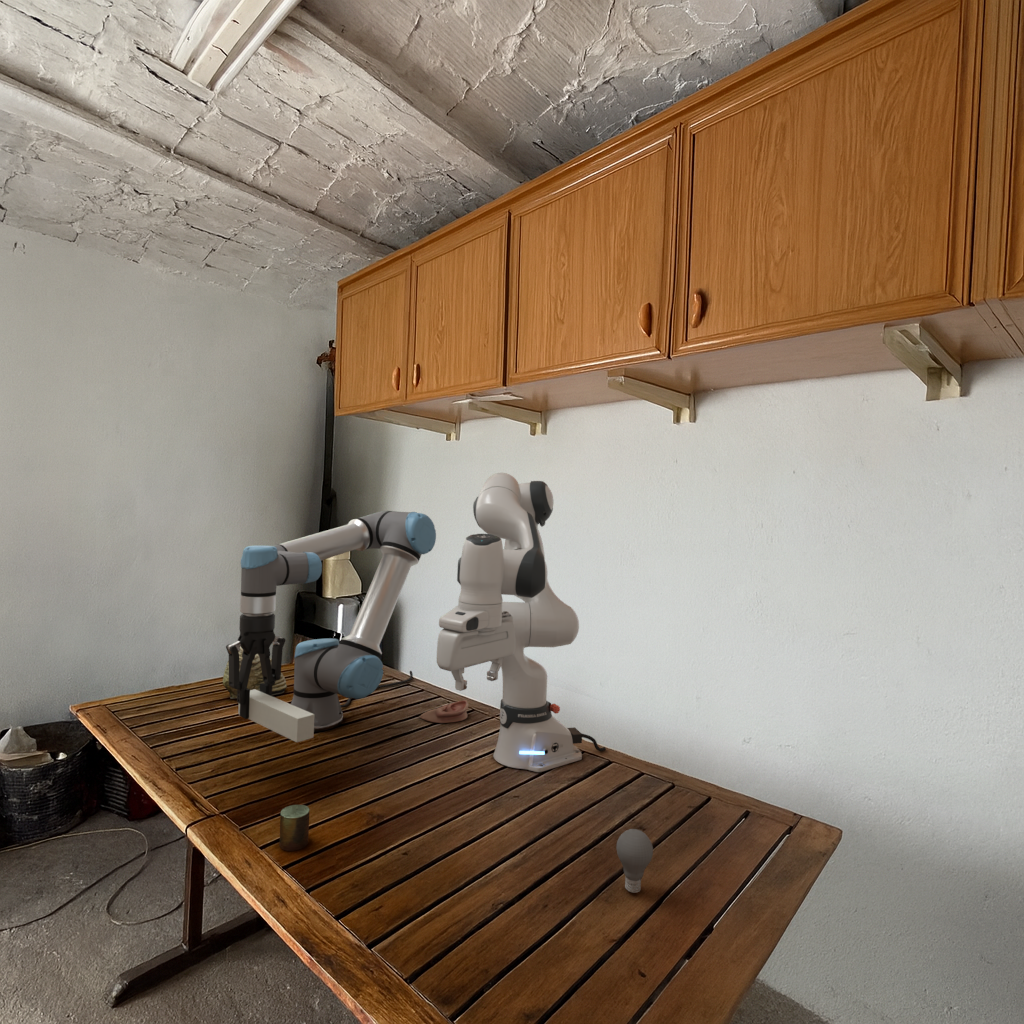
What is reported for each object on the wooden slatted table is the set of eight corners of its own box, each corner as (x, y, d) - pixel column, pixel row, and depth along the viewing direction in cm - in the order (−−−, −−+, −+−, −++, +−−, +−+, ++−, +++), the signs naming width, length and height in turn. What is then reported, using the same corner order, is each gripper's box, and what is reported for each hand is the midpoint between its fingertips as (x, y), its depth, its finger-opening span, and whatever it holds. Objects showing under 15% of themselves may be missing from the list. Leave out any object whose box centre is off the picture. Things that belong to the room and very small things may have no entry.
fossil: (218, 695, 195) (220, 647, 195) (278, 685, 208) (279, 640, 207) (228, 703, 189) (230, 653, 188) (289, 692, 201) (290, 645, 201)
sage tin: (298, 833, 119) (299, 801, 119) (313, 843, 116) (315, 810, 116) (273, 843, 115) (275, 811, 115) (289, 854, 112) (290, 820, 112)
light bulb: (610, 879, 108) (613, 822, 108) (644, 879, 109) (647, 822, 109) (619, 902, 102) (622, 840, 102) (655, 901, 103) (658, 840, 103)
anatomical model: (416, 706, 181) (429, 695, 192) (416, 720, 181) (429, 708, 192) (461, 711, 178) (471, 699, 190) (460, 725, 178) (471, 712, 190)
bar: (254, 710, 149) (255, 689, 149) (313, 737, 134) (314, 714, 134) (238, 714, 146) (238, 692, 146) (296, 742, 131) (297, 718, 131)
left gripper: (282, 607, 154) (278, 702, 155) (212, 615, 141) (209, 719, 141) (300, 611, 149) (296, 709, 150) (229, 620, 136) (225, 728, 137)
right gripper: (500, 608, 136) (497, 671, 137) (432, 619, 120) (429, 691, 121) (524, 612, 133) (521, 677, 133) (456, 624, 116) (453, 699, 117)
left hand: (254, 714), depth 146 cm, fingers closed on bar, 4 cm apart
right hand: (477, 684), depth 127 cm, fingers open, 8 cm apart
